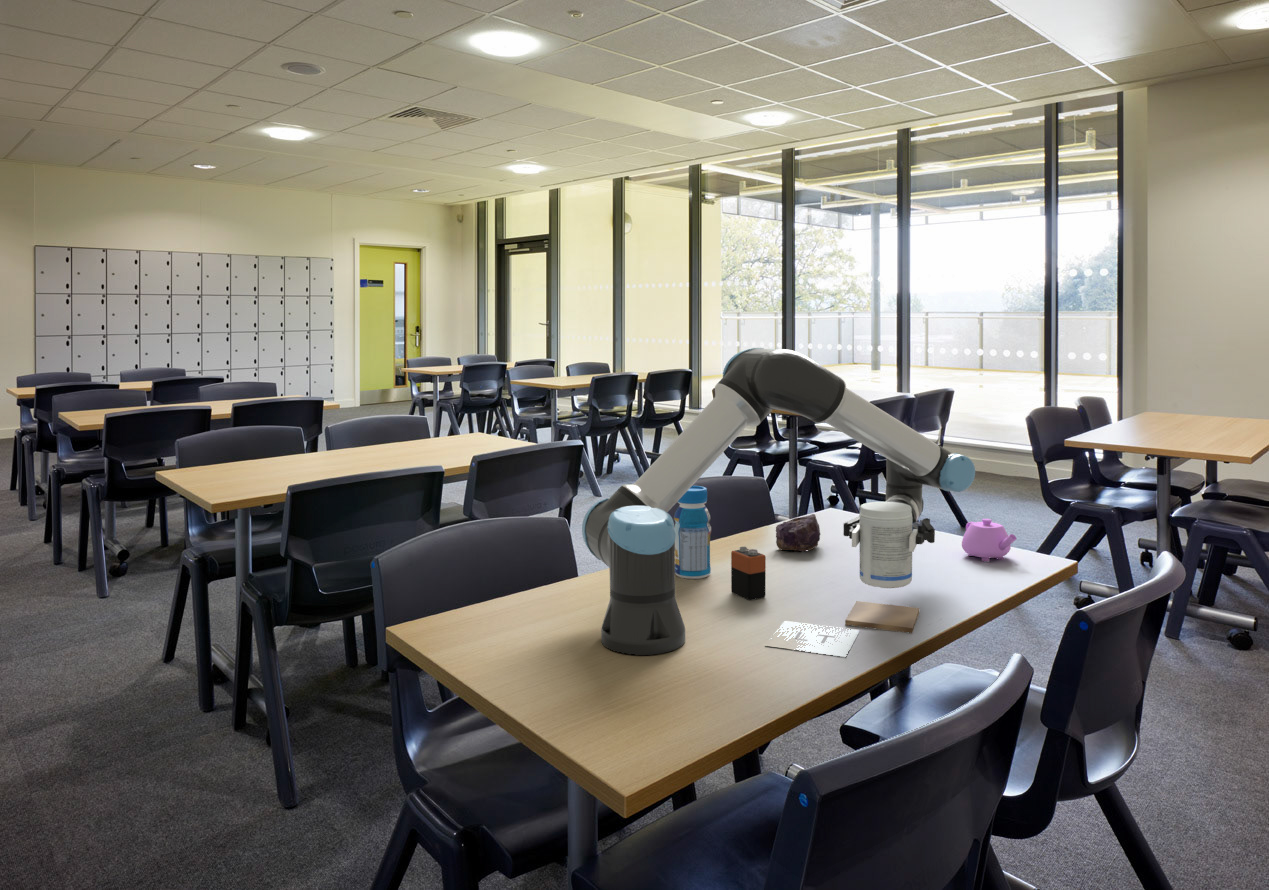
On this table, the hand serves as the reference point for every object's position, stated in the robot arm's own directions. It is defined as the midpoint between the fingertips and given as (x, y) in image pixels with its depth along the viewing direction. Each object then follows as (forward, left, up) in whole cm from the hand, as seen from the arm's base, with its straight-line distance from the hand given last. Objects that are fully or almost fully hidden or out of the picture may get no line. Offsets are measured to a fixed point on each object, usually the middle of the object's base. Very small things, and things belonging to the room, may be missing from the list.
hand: (882, 542), depth 156 cm
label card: (-10, -11, -16) cm, 22 cm away
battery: (-28, +9, -16) cm, 34 cm away
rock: (-26, +50, -16) cm, 58 cm away
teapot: (+17, +57, -16) cm, 62 cm away
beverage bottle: (-44, +19, -16) cm, 51 cm away
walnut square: (0, +4, -16) cm, 17 cm away
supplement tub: (0, +5, -9) cm, 10 cm away
